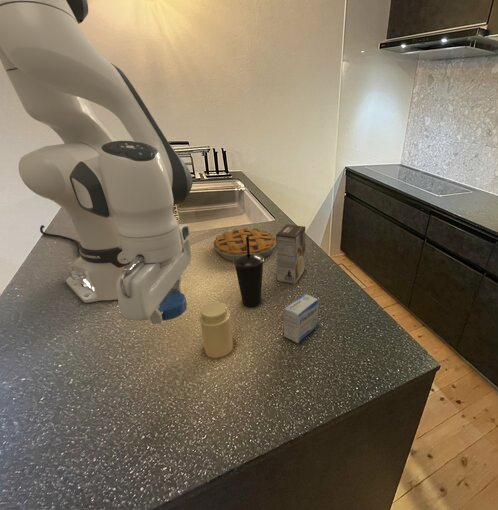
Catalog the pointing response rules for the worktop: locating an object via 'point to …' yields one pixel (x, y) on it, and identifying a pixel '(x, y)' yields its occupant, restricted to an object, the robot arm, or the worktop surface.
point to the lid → (173, 305)
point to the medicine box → (300, 318)
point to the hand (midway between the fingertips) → (167, 308)
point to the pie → (244, 243)
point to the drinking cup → (249, 276)
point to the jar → (216, 329)
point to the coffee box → (290, 253)
